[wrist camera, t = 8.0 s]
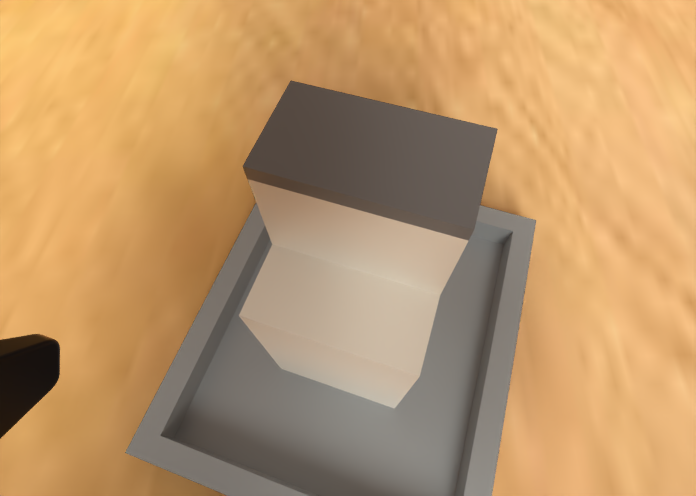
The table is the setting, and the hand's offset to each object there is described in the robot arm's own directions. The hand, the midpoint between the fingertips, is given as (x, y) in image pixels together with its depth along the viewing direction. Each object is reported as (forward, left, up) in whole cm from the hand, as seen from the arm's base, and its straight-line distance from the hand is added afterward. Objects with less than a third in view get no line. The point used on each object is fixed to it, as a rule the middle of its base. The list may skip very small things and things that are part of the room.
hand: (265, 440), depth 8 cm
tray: (+5, +1, -12) cm, 13 cm away
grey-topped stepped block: (+5, +1, -12) cm, 13 cm away
